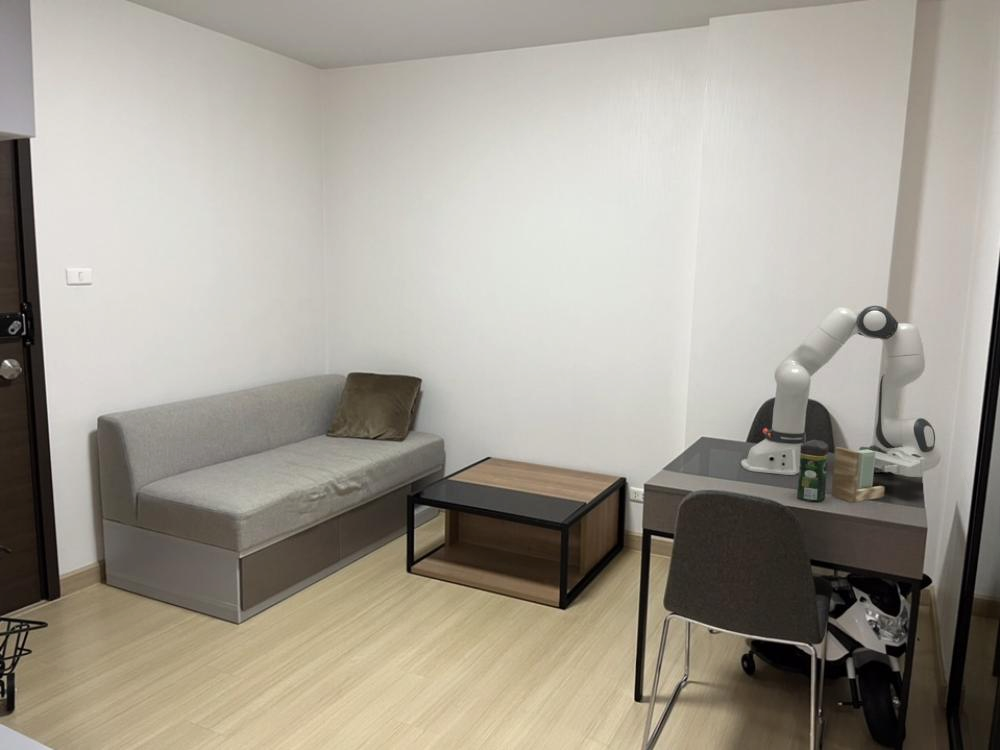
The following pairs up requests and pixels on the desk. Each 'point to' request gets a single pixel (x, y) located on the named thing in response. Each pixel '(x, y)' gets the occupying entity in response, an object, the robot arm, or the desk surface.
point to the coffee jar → (812, 470)
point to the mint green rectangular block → (865, 469)
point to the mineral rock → (875, 448)
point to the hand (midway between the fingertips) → (871, 465)
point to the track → (850, 478)
